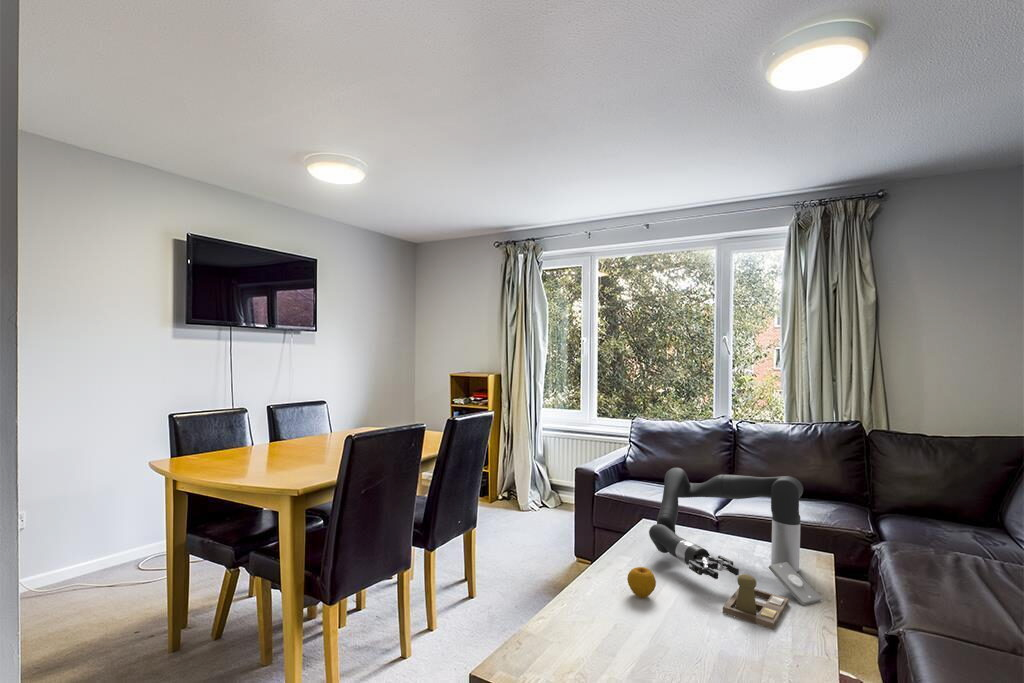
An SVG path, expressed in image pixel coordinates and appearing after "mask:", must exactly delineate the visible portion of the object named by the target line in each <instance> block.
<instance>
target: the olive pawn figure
mask: <svg viewBox="0 0 1024 683" xmlns="http://www.w3.org/2000/svg"><path fill="white" fill-rule="evenodd" d="M737 584H738V588H739V591H738V596H737V602H736V606H735V607H734V609H737V610H740V611H743V612H746V613H749V614H752V615H756V616H757V615H758V613H757V610H756V602H755V601H756V596H755V593H754V589H756V587H757V580H756V578H755V577H754V576H752V575H750V574H746V573H743V574H739V575H738V577H737Z"/></svg>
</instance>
